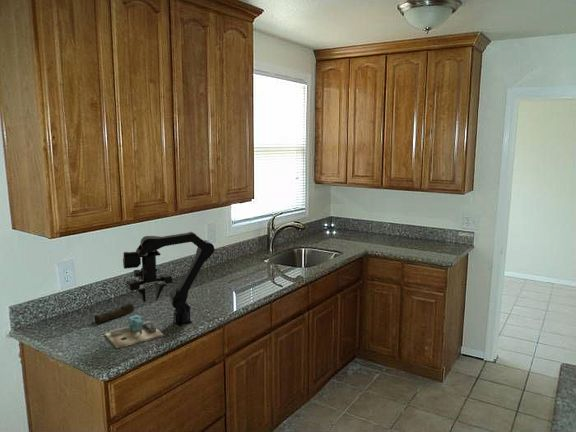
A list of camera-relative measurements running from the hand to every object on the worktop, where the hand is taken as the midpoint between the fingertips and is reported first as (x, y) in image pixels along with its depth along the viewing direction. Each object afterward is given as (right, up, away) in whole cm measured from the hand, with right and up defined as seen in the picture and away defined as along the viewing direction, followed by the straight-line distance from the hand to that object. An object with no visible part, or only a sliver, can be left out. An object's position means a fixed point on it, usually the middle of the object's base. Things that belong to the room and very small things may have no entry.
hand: (150, 301), depth 194 cm
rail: (-7, -13, -3) cm, 15 cm away
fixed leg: (+1, -12, -2) cm, 12 cm away
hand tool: (-20, -10, +13) cm, 26 cm away
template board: (-5, -13, -7) cm, 16 cm away
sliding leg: (-4, -12, -4) cm, 13 cm away
